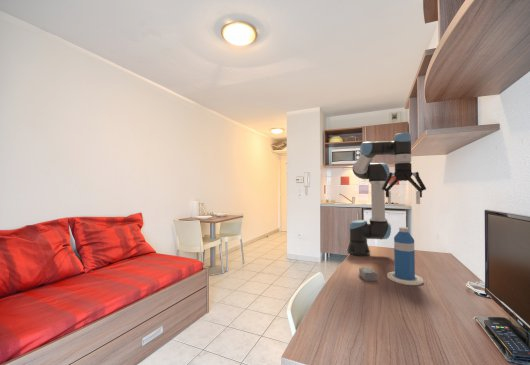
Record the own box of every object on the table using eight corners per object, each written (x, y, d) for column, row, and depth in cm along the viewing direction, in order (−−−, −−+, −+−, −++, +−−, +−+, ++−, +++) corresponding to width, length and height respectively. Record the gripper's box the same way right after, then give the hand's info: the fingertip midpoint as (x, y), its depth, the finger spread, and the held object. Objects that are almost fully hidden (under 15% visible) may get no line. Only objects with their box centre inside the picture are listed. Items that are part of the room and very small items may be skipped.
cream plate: (383, 272, 133) (383, 270, 133) (415, 274, 129) (415, 272, 129) (392, 283, 117) (392, 281, 117) (429, 286, 114) (429, 284, 114)
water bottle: (419, 280, 118) (418, 229, 119) (400, 280, 119) (399, 229, 119) (408, 273, 128) (407, 226, 128) (390, 273, 128) (390, 226, 128)
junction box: (359, 275, 129) (359, 266, 129) (370, 275, 129) (370, 266, 129) (364, 280, 121) (364, 271, 121) (376, 280, 121) (376, 272, 121)
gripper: (378, 162, 124) (379, 204, 124) (433, 161, 119) (434, 204, 118) (375, 164, 131) (376, 203, 131) (426, 163, 126) (427, 203, 125)
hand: (403, 203), depth 124 cm, fingers open, 13 cm apart
